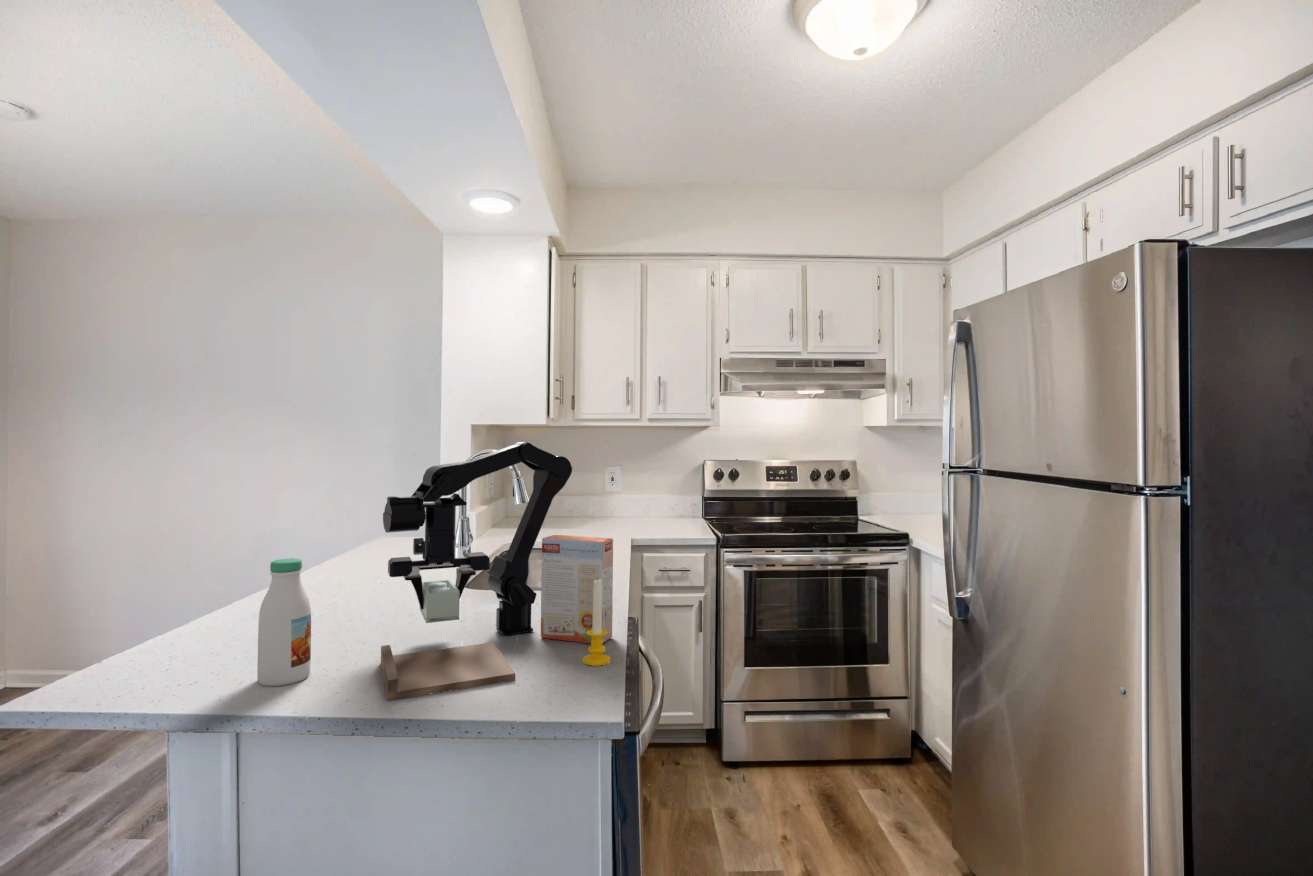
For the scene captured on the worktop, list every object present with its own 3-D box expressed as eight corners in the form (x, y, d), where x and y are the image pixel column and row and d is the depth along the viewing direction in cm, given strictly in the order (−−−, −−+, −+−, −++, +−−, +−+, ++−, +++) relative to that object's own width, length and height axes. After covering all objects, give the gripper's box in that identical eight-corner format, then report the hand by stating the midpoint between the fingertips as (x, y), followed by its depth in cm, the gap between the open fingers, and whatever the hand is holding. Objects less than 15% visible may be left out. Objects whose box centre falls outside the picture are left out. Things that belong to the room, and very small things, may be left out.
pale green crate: (450, 605, 131) (450, 579, 131) (459, 619, 121) (459, 591, 121) (419, 609, 128) (420, 582, 128) (426, 623, 118) (426, 594, 118)
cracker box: (613, 637, 130) (614, 537, 131) (601, 646, 125) (602, 541, 125) (553, 630, 135) (555, 533, 135) (539, 638, 129) (541, 537, 130)
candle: (584, 667, 113) (586, 581, 113) (580, 657, 118) (581, 575, 118) (613, 665, 114) (614, 579, 115) (607, 655, 120) (608, 573, 120)
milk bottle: (272, 691, 100) (274, 566, 101) (248, 681, 104) (250, 561, 105) (319, 676, 107) (321, 559, 107) (295, 667, 111) (297, 554, 111)
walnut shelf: (492, 648, 122) (492, 632, 122) (515, 680, 106) (515, 661, 106) (380, 663, 113) (381, 646, 113) (387, 700, 97) (387, 680, 97)
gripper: (479, 522, 136) (478, 593, 136) (386, 526, 128) (385, 602, 128) (491, 528, 126) (489, 606, 126) (390, 533, 118) (389, 616, 118)
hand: (438, 607), depth 125 cm, fingers closed on pale green crate, 6 cm apart
